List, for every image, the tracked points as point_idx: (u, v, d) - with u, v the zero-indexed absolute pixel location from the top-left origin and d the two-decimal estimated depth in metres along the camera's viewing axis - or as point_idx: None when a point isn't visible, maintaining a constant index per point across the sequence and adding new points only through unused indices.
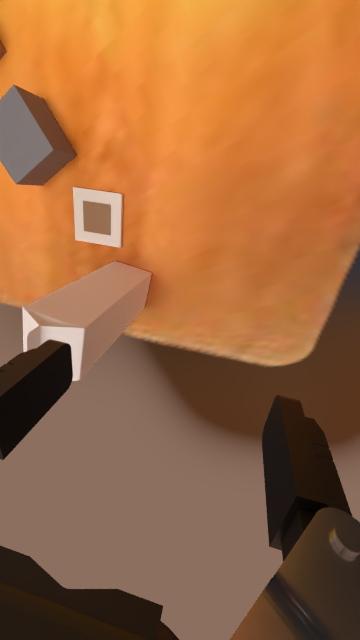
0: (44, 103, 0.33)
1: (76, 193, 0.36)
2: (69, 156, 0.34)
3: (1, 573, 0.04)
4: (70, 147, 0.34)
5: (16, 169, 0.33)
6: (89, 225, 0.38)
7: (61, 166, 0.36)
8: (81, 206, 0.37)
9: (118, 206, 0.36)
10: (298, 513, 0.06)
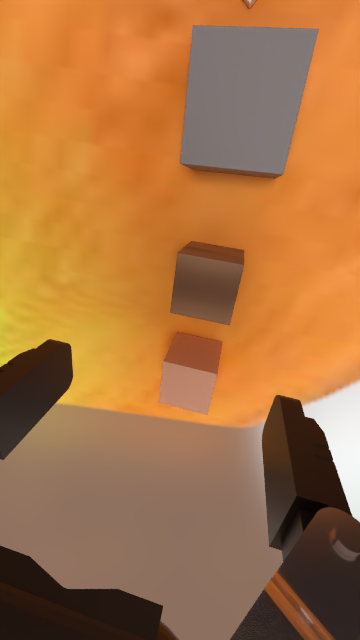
0: None
1: None
2: None
3: (1, 573, 0.04)
4: None
5: (287, 54, 0.15)
6: None
7: None
8: None
9: None
10: (298, 513, 0.06)
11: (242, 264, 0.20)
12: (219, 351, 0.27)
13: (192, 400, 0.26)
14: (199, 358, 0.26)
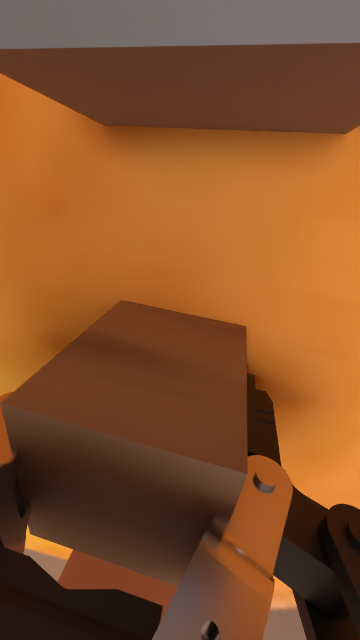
0: None
1: None
2: None
3: (1, 573, 0.04)
4: None
5: None
6: None
7: None
8: None
9: None
10: None
11: (241, 465, 0.05)
12: None
13: None
14: None
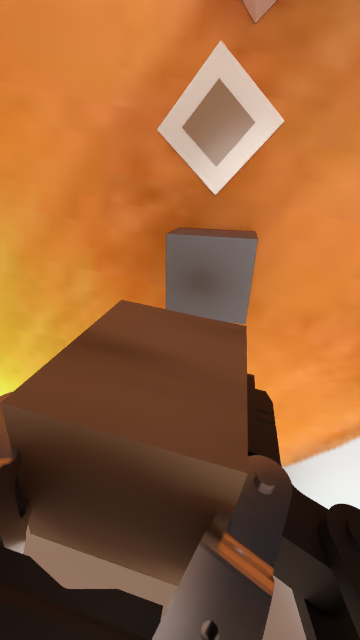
0: None
1: (217, 183, 0.23)
2: (182, 229, 0.24)
3: (1, 573, 0.04)
4: None
5: (237, 253, 0.20)
6: (238, 123, 0.20)
7: (205, 229, 0.24)
8: (226, 162, 0.22)
9: (173, 116, 0.21)
10: None
11: (241, 465, 0.05)
12: None
13: None
14: None
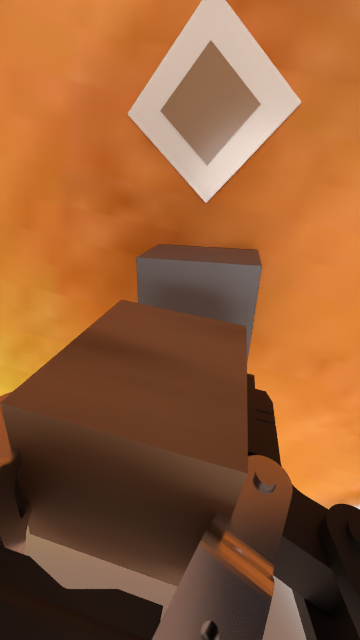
0: None
1: (208, 188, 0.17)
2: (162, 247, 0.19)
3: (1, 573, 0.04)
4: None
5: (233, 284, 0.15)
6: (236, 105, 0.15)
7: (192, 247, 0.19)
8: (220, 159, 0.16)
9: (149, 95, 0.16)
10: None
11: (241, 465, 0.05)
12: None
13: None
14: None
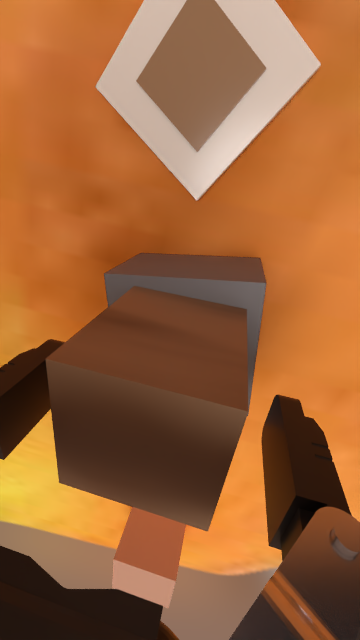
0: None
1: (199, 181, 0.13)
2: (142, 256, 0.15)
3: (1, 573, 0.04)
4: None
5: None
6: (235, 70, 0.11)
7: (180, 256, 0.15)
8: (214, 143, 0.13)
9: (121, 61, 0.12)
10: (297, 512, 0.06)
11: (243, 406, 0.06)
12: (184, 524, 0.24)
13: (149, 594, 0.22)
14: (158, 544, 0.22)
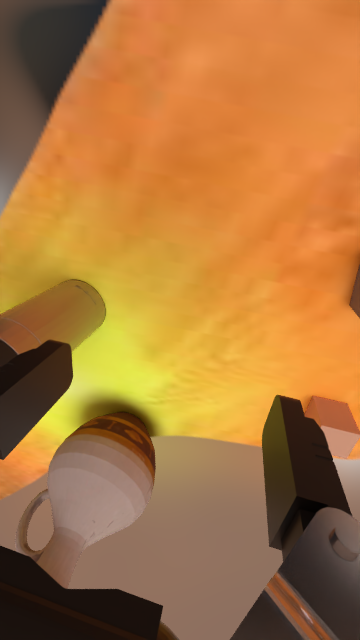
0: (351, 302, 0.34)
1: None
2: None
3: (1, 573, 0.04)
4: None
5: None
6: None
7: None
8: None
9: None
10: (298, 513, 0.06)
11: None
12: (350, 413, 0.39)
13: (336, 449, 0.38)
14: (341, 420, 0.38)
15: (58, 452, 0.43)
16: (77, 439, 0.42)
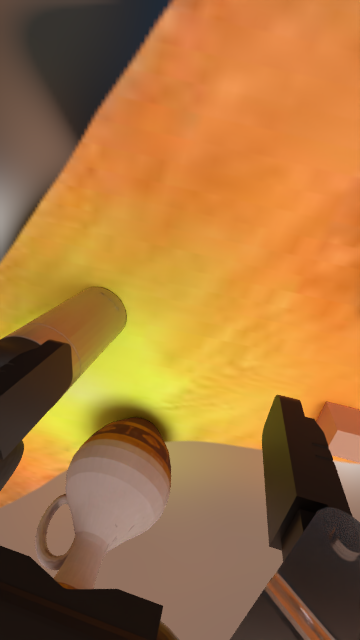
0: None
1: None
2: None
3: (1, 573, 0.04)
4: None
5: None
6: None
7: None
8: None
9: None
10: (298, 513, 0.06)
11: None
12: None
13: (351, 453, 0.39)
14: (355, 425, 0.39)
15: (77, 457, 0.43)
16: (97, 444, 0.43)
